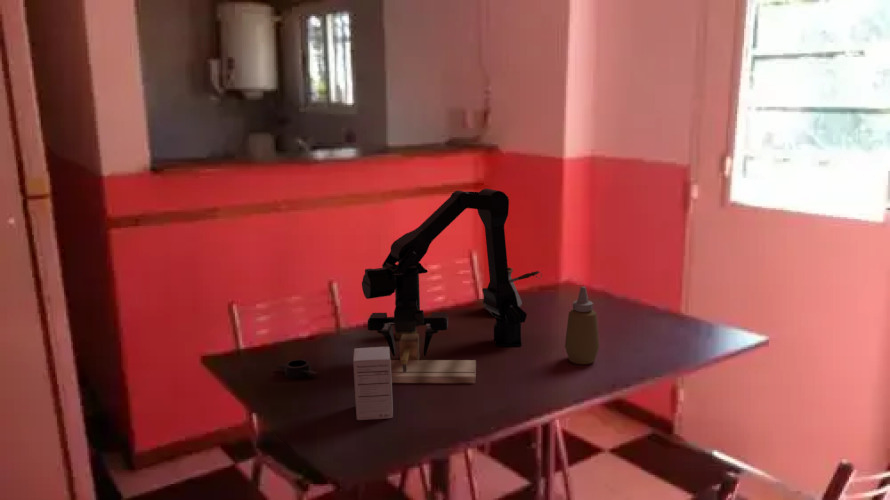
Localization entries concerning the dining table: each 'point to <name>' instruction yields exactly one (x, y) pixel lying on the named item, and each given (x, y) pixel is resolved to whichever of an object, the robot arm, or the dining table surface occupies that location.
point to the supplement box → (373, 383)
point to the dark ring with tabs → (297, 369)
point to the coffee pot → (514, 285)
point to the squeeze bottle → (582, 331)
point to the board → (434, 371)
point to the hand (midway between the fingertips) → (409, 355)
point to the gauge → (409, 348)
